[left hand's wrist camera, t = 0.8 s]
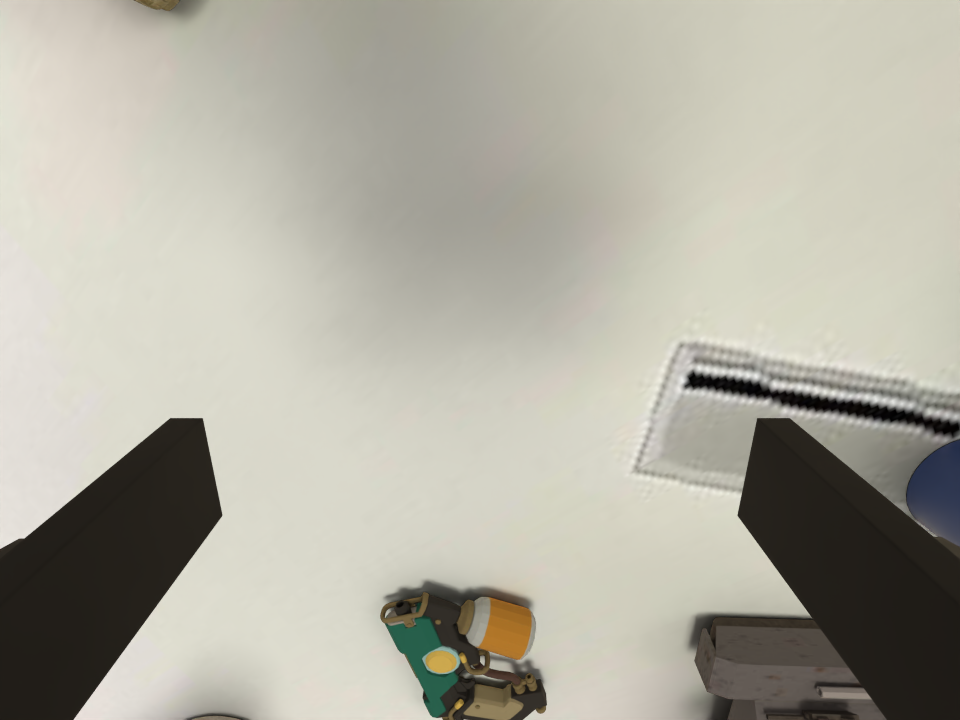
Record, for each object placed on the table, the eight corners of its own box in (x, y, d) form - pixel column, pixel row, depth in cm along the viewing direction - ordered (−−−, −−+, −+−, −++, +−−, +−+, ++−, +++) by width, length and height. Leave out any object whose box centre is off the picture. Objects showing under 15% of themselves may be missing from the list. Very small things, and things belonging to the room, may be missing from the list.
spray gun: (543, 702, 54) (397, 699, 55) (549, 579, 48) (383, 577, 48) (546, 746, 50) (390, 742, 51) (554, 620, 44) (373, 617, 44)
